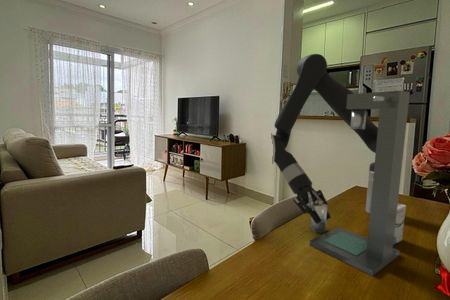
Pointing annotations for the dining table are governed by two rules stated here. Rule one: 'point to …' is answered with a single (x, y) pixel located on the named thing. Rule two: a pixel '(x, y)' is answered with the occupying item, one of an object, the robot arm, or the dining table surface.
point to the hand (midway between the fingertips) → (323, 220)
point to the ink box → (399, 223)
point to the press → (375, 185)
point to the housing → (322, 213)
